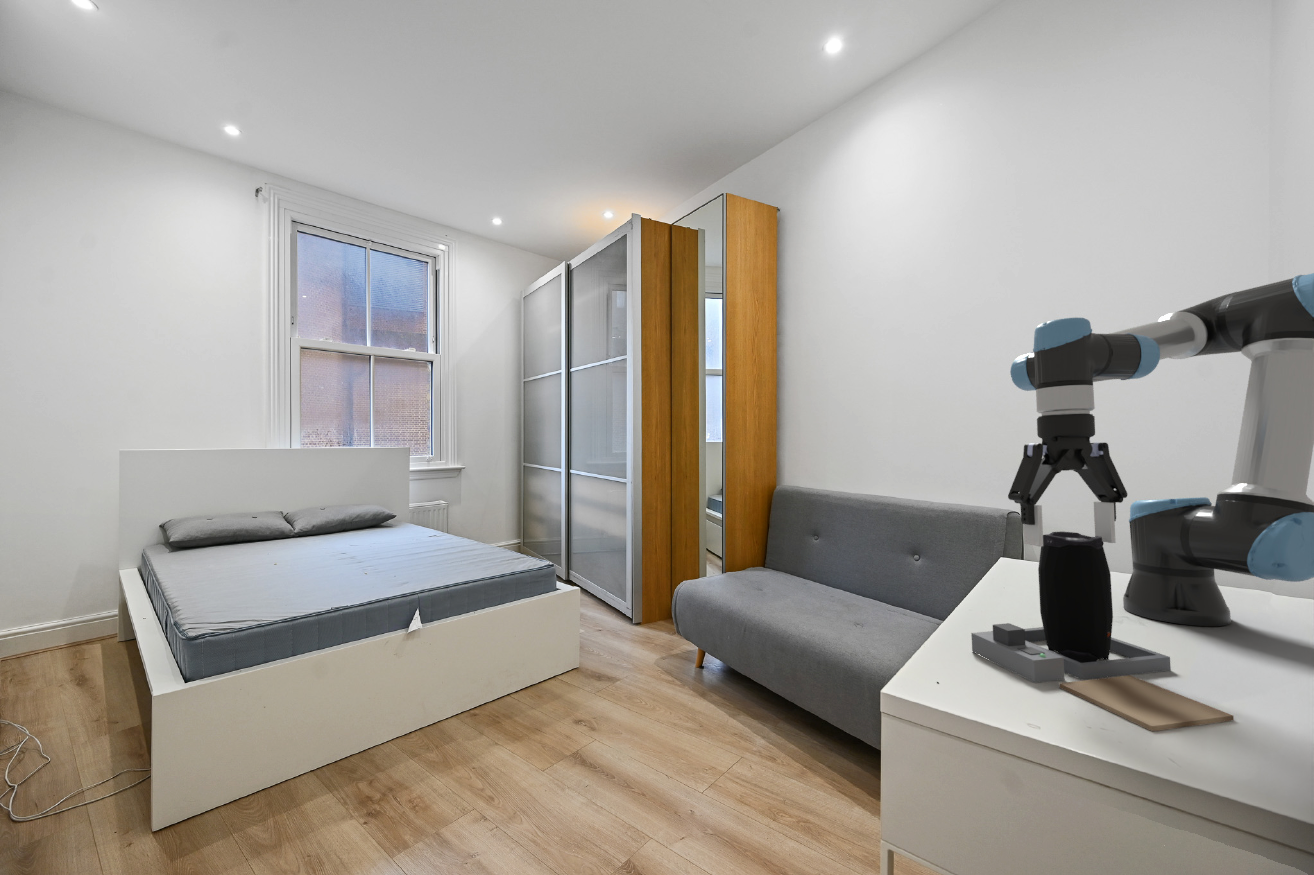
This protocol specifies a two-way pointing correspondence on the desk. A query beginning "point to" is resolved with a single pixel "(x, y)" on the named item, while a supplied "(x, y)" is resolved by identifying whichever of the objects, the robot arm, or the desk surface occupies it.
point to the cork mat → (1145, 703)
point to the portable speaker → (1075, 596)
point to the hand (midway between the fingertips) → (1070, 543)
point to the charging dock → (1134, 664)
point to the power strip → (1018, 653)
